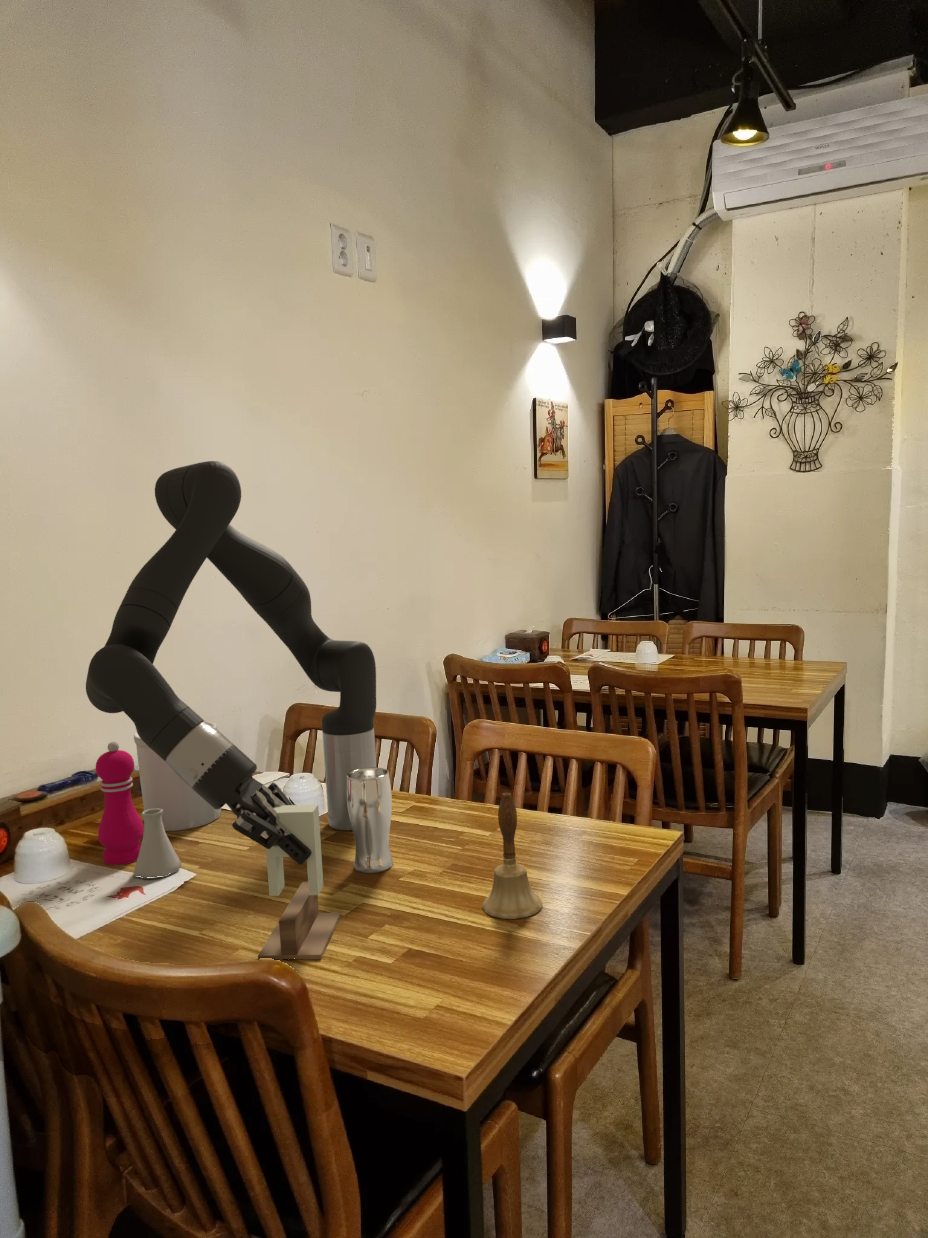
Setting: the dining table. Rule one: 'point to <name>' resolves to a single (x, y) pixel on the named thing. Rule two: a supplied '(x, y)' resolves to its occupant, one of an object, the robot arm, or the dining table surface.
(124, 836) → the pepper mill
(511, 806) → the hand bell
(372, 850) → the beer glass
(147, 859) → the flask
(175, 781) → the utensil holder
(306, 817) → the pale slotted block
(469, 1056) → the dining table surface
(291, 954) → the walnut rail
